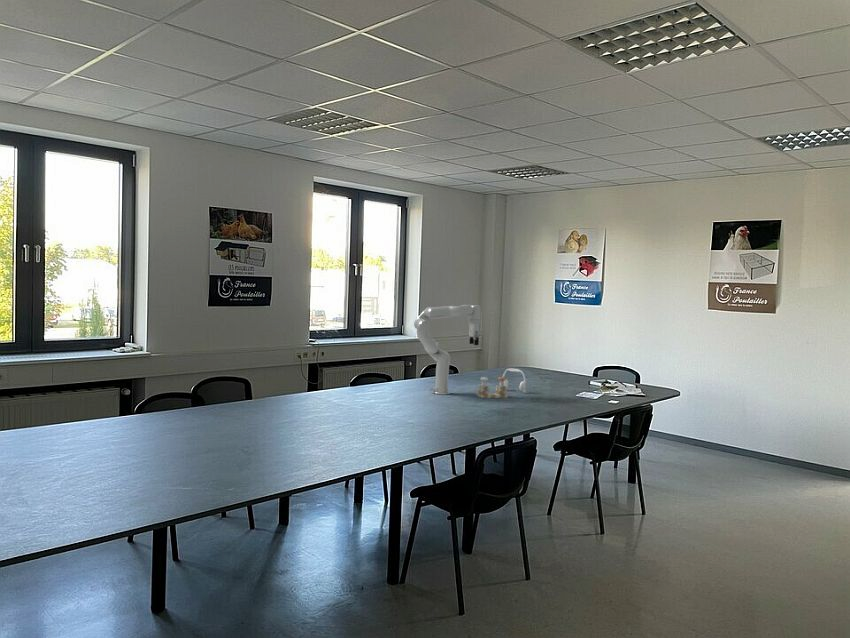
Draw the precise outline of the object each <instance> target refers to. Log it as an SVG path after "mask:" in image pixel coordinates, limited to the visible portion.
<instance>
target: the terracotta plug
mask: <svg viewBox="0 0 850 638" xmlns="http://www.w3.org/2000/svg"><path fill="white" fill-rule="evenodd" d="M505 380H507V379H506V377H505V376H504V377H503V376H498V381H499V386H500V387H504V381H505Z"/></svg>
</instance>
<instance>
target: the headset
mask: <svg viewBox="0 0 850 638" xmlns="http://www.w3.org/2000/svg"><path fill="white" fill-rule="evenodd" d="M507 372H515V373H521V374H522V377H523V381H521V382H520V384H519V386H518V387H519V388H518V389H519V391H520V392H522V393H524V394H526V393H527V391H526V387H527V380H526V379H527V378H526V375H525V373H524V372H523V370H520V369H518V368H506V370H505V371H504V372H503V374H502V377H505V376H506V373H507ZM504 386H506V387H507V388H508V387H509V381H508V379H506V380H505V381H504Z"/></svg>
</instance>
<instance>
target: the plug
mask: <svg viewBox="0 0 850 638" xmlns="http://www.w3.org/2000/svg"><path fill="white" fill-rule="evenodd" d="M480 381H481V386H482V387H486V386H487V381H489V378H488V377H486V376H482V377H480Z"/></svg>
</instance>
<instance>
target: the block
mask: <svg viewBox="0 0 850 638" xmlns="http://www.w3.org/2000/svg"><path fill="white" fill-rule="evenodd" d="M477 389H478V390H477V392H478V393H476V396H478V397H479V398H481V399H496V398H498V399H504V398H505V399H507V397H508V387H506V386H504V387H500V385H496V386H495V393H493V392H491V393H490V386H488V385H486V387H482V385H478V388H477ZM508 398H509V397H508Z"/></svg>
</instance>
